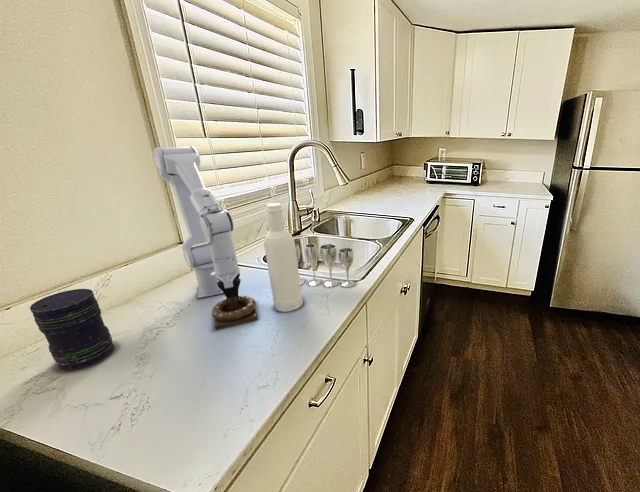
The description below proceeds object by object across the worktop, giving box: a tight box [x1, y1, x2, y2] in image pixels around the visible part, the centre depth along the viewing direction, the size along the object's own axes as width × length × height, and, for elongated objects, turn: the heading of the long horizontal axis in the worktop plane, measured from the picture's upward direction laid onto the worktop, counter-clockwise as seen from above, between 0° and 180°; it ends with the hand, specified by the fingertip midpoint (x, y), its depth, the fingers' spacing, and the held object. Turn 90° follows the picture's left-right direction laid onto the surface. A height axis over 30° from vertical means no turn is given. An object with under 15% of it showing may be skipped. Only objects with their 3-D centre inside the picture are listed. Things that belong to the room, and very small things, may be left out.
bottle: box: [263, 202, 304, 313], centre depth 90 cm, size 8×8×30 cm
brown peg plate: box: [214, 296, 258, 331], centre depth 89 cm, size 10×10×6 cm
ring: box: [211, 295, 257, 321], centre depth 89 cm, size 11×11×2 cm
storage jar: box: [29, 288, 116, 372], centre depth 72 cm, size 10×10×15 cm
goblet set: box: [295, 243, 356, 288], centre depth 106 cm, size 28×6×13 cm, turn 84°
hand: (233, 300), depth 93 cm, fingers closed on ring, 2 cm apart
